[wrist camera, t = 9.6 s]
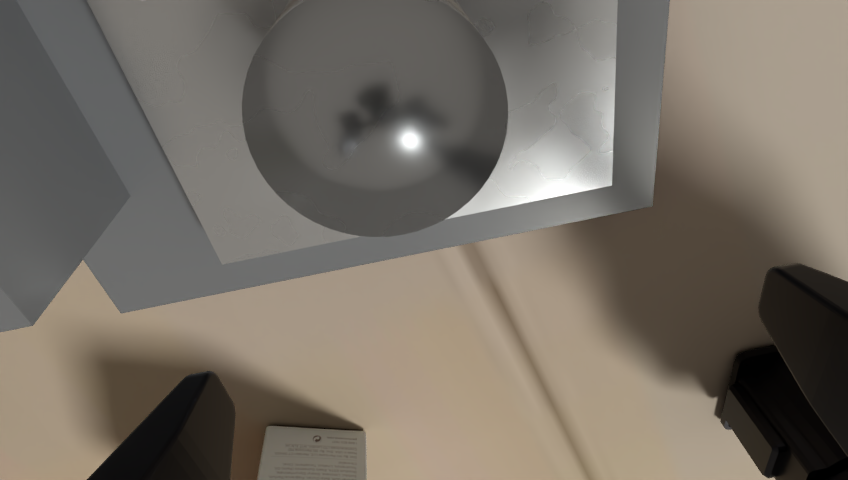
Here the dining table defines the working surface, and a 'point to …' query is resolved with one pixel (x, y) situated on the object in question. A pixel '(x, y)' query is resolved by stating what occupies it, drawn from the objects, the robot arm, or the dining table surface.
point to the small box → (312, 454)
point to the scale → (165, 197)
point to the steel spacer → (375, 112)
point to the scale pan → (242, 35)
